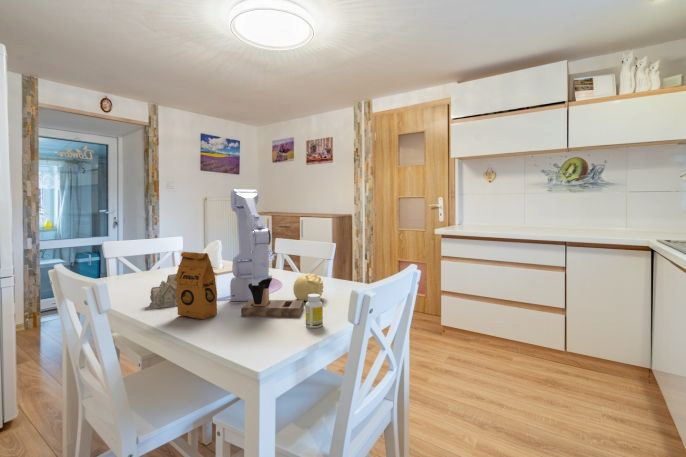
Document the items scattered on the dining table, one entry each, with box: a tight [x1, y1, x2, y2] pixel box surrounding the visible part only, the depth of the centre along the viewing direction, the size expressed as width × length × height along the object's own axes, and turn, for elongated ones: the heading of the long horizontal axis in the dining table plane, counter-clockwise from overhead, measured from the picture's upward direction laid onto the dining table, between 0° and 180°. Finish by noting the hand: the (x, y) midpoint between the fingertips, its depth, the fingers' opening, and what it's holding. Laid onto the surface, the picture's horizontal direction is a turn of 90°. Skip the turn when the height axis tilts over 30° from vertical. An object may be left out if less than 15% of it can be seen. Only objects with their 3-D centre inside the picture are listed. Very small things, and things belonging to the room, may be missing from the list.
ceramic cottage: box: [149, 273, 177, 309], centre depth 138 cm, size 16×16×15 cm
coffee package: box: [175, 251, 218, 320], centre depth 121 cm, size 10×12×22 cm
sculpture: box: [292, 272, 324, 302], centre depth 142 cm, size 12×12×11 cm
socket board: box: [240, 299, 305, 318], centre depth 126 cm, size 20×10×3 cm, turn 88°
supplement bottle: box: [305, 294, 324, 329], centre depth 112 cm, size 5×5×10 cm
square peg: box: [253, 288, 270, 306], centre depth 126 cm, size 4×4×8 cm
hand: (260, 301), depth 126 cm, fingers open, 7 cm apart
